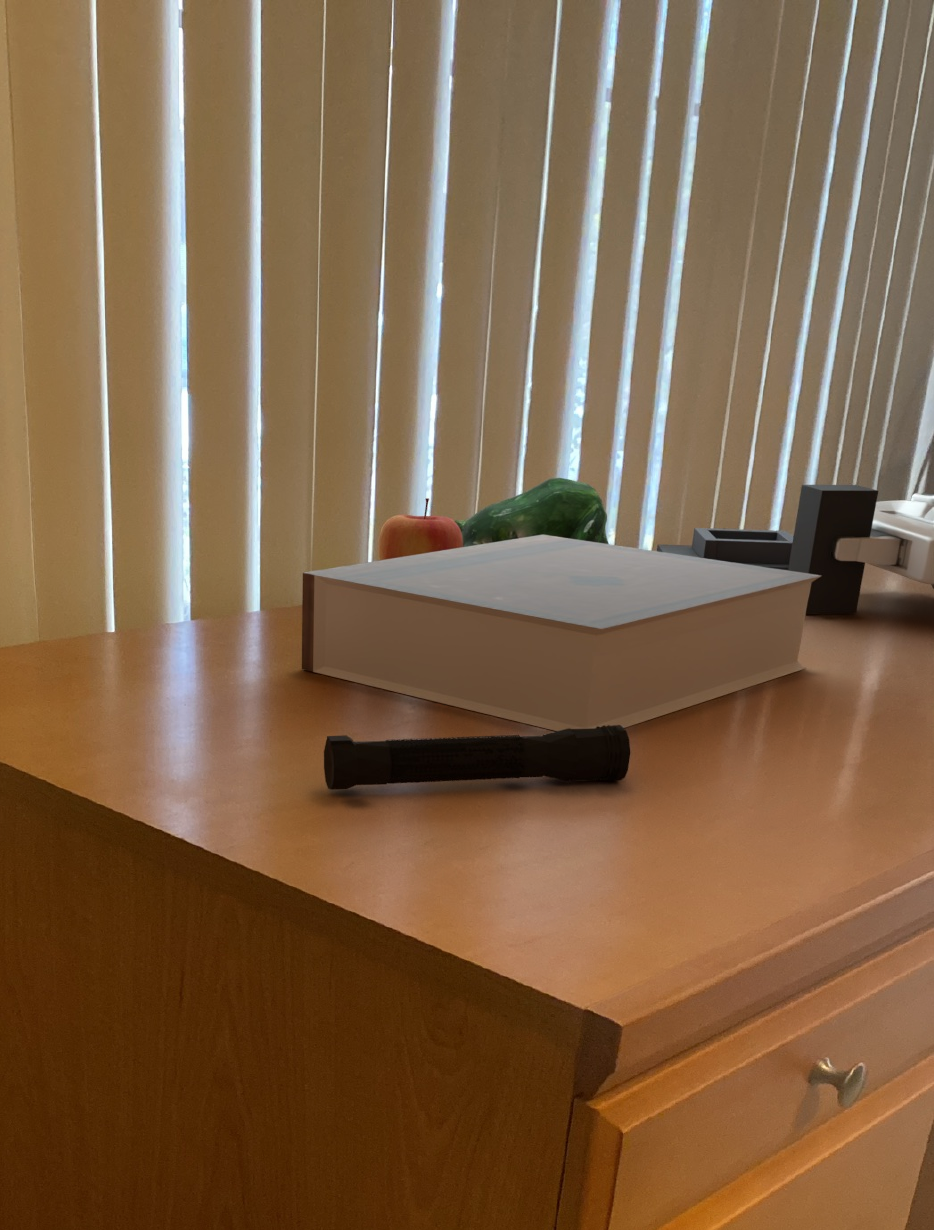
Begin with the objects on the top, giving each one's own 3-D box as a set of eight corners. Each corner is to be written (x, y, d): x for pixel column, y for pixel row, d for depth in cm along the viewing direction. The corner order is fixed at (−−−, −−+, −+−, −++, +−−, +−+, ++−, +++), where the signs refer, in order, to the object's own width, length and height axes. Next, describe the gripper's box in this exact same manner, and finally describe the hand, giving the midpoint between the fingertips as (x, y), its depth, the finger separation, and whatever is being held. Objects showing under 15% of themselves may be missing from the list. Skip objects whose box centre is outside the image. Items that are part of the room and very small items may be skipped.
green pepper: (580, 533, 144) (433, 541, 142) (595, 448, 137) (441, 455, 135) (619, 611, 136) (463, 621, 134) (637, 525, 129) (473, 533, 127)
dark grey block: (835, 605, 129) (856, 484, 124) (856, 613, 125) (878, 490, 121) (782, 605, 128) (801, 484, 123) (801, 614, 125) (822, 490, 120)
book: (301, 669, 103) (302, 572, 99) (535, 617, 121) (542, 534, 118) (589, 739, 88) (601, 629, 85) (806, 668, 106) (822, 575, 103)
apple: (369, 601, 126) (372, 503, 122) (385, 586, 132) (388, 493, 128) (453, 606, 124) (458, 507, 120) (465, 591, 131) (471, 497, 127)
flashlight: (627, 787, 80) (633, 733, 78) (333, 800, 76) (334, 744, 75) (606, 771, 82) (612, 718, 81) (322, 783, 79) (323, 728, 78)
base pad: (811, 559, 151) (816, 529, 150) (836, 579, 141) (842, 547, 139) (656, 554, 152) (659, 524, 151) (669, 573, 142) (673, 541, 140)
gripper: (1028, 603, 118) (870, 604, 116) (905, 562, 136) (766, 562, 134) (1048, 522, 115) (885, 521, 114) (919, 490, 133) (777, 489, 131)
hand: (820, 543), depth 124 cm, fingers closed on dark grey block, 4 cm apart
